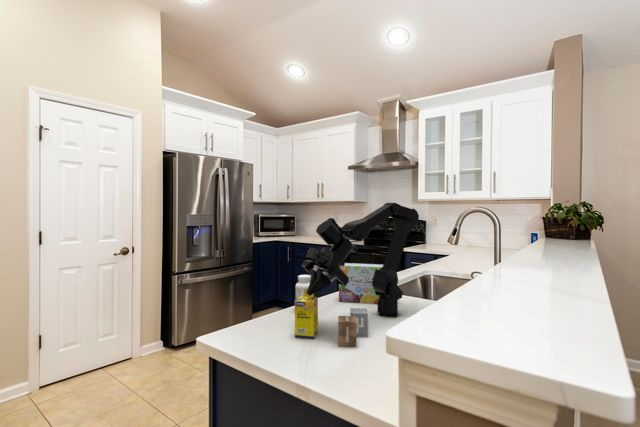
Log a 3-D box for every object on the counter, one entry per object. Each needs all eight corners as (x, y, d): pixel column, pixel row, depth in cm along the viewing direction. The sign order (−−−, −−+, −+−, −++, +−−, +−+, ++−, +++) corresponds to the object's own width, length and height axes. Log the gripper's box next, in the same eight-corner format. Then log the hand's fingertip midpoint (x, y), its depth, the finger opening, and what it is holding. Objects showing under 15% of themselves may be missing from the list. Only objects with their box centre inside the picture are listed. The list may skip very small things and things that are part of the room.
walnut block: (355, 340, 100) (355, 315, 100) (356, 347, 95) (356, 321, 95) (338, 339, 100) (338, 315, 100) (338, 347, 95) (338, 321, 95)
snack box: (338, 302, 138) (338, 264, 138) (340, 298, 144) (340, 262, 143) (392, 305, 133) (392, 266, 133) (393, 301, 139) (393, 264, 138)
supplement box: (314, 339, 101) (314, 302, 100) (294, 337, 102) (294, 301, 102) (318, 331, 107) (318, 296, 106) (299, 330, 108) (299, 295, 108)
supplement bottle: (316, 308, 130) (316, 274, 129) (310, 314, 123) (309, 278, 123) (299, 307, 132) (299, 273, 131) (292, 312, 126) (292, 277, 125)
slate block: (366, 330, 107) (366, 308, 107) (367, 337, 102) (367, 313, 102) (350, 330, 108) (350, 308, 107) (350, 337, 102) (350, 313, 102)
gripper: (306, 235, 114) (276, 272, 109) (340, 240, 99) (308, 284, 93) (326, 257, 119) (298, 293, 113) (361, 264, 104) (332, 308, 98)
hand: (308, 294), depth 104 cm, fingers closed
